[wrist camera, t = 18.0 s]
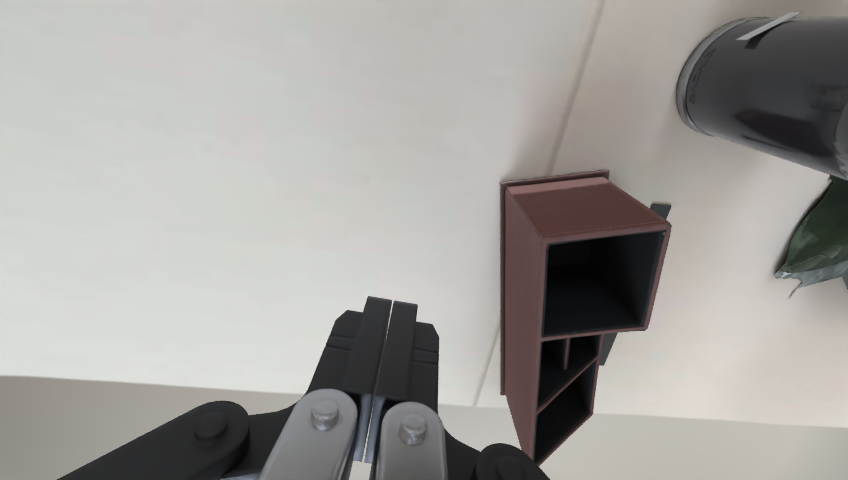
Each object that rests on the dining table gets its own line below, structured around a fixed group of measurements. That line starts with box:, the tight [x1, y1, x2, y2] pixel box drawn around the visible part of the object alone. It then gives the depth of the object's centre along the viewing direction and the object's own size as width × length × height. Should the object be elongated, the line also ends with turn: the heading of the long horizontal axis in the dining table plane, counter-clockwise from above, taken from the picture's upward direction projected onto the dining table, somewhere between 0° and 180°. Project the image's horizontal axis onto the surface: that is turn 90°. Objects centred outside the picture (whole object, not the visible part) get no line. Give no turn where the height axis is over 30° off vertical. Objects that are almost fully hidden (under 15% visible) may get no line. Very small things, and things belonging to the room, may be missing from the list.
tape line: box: [599, 204, 671, 365], centre depth 45 cm, size 2×22×1 cm, turn 174°
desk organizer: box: [500, 170, 672, 467], centre depth 39 cm, size 10×29×11 cm, turn 5°
